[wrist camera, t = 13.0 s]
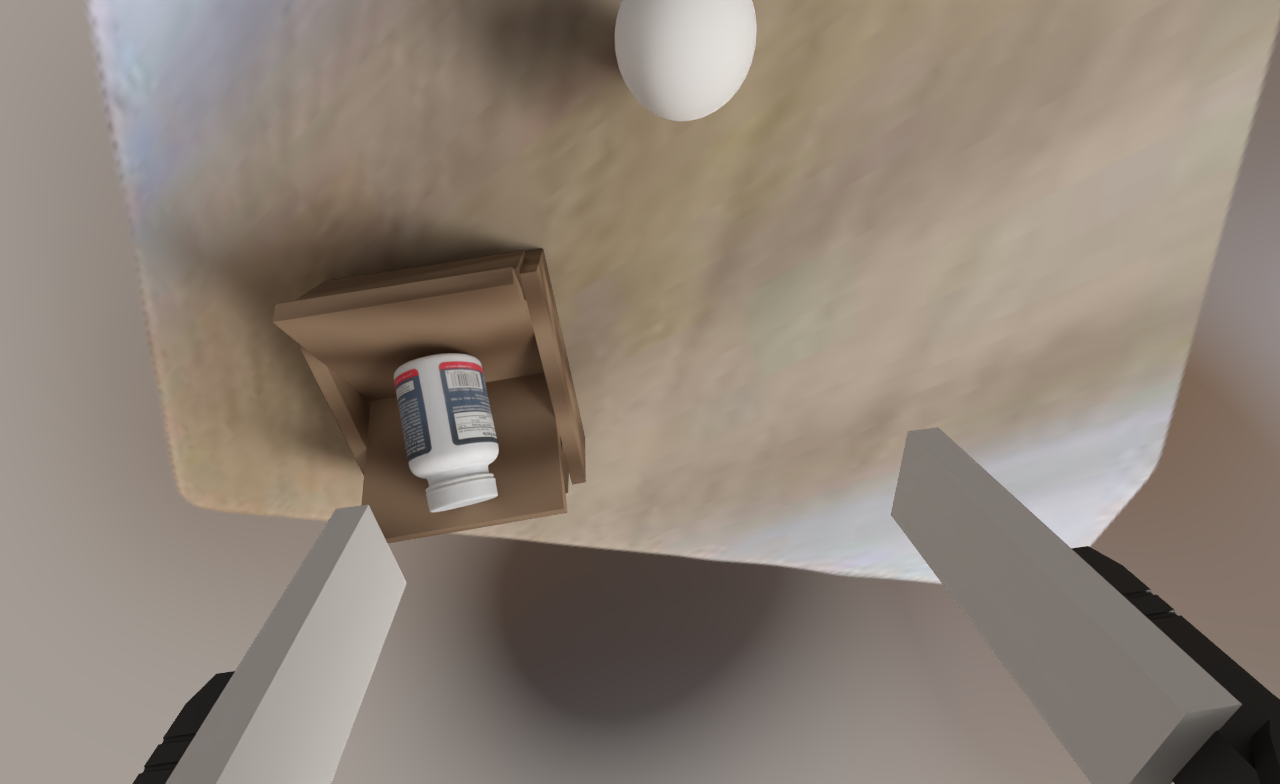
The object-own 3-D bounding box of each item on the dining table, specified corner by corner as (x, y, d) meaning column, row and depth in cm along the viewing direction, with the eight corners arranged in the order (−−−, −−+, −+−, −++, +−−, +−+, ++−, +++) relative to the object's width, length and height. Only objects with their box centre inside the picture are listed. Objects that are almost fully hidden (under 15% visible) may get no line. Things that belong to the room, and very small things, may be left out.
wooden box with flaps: (321, 269, 34) (217, 330, 25) (540, 235, 35) (524, 281, 25) (408, 467, 42) (356, 571, 33) (584, 437, 43) (585, 532, 33)
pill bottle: (409, 385, 34) (431, 515, 33) (378, 363, 29) (402, 516, 27) (488, 368, 35) (513, 495, 33) (471, 344, 30) (500, 492, 28)
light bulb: (699, -30, 29) (759, -105, 19) (727, 98, 32) (790, 89, 22) (590, 14, 29) (595, -37, 20) (628, 136, 32) (648, 143, 23)
